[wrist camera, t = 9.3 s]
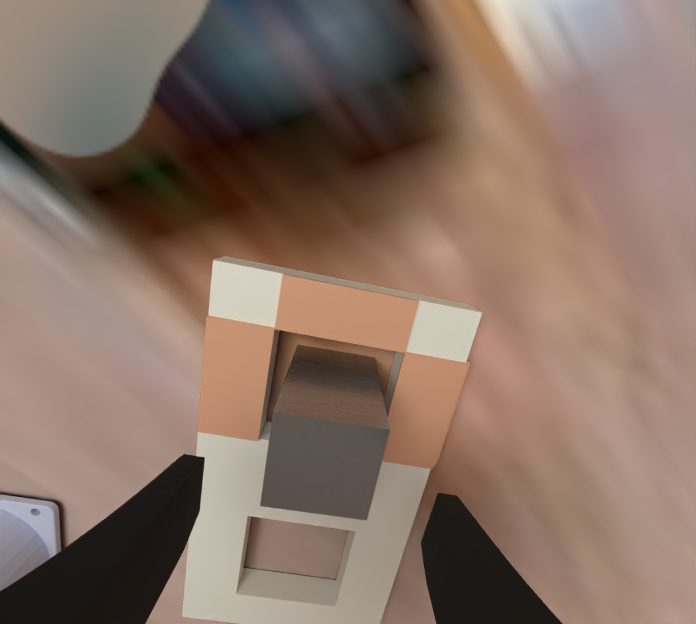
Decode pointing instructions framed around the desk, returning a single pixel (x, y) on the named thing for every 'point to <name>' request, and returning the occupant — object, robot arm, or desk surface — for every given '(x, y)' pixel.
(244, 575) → the board with square holes
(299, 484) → the dark grey block
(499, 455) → the desk surface
